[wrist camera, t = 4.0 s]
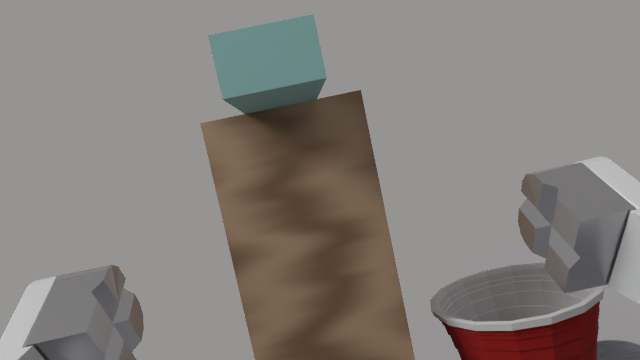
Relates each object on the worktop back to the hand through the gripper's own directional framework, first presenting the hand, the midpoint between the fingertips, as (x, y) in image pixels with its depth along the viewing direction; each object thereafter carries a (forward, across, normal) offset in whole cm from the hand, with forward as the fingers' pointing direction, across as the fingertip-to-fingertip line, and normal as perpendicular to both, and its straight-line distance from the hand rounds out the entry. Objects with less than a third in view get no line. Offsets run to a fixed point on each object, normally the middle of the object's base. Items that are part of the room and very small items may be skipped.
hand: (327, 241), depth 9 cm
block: (+18, -1, -6) cm, 19 cm away
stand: (+7, -1, -29) cm, 30 cm away
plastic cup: (+6, +12, -29) cm, 32 cm away
